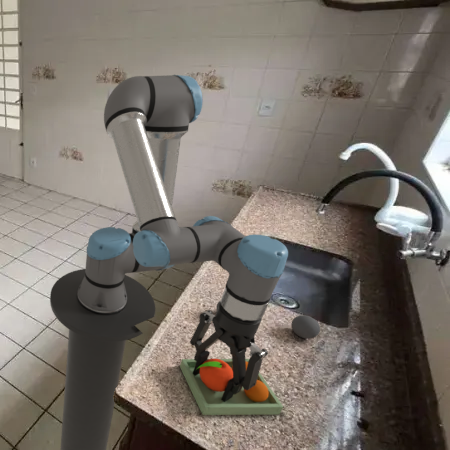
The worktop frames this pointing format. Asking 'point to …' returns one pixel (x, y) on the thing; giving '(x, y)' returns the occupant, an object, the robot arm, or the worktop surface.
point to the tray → (237, 404)
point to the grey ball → (305, 326)
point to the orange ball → (257, 392)
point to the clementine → (215, 374)
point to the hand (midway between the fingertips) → (211, 384)
